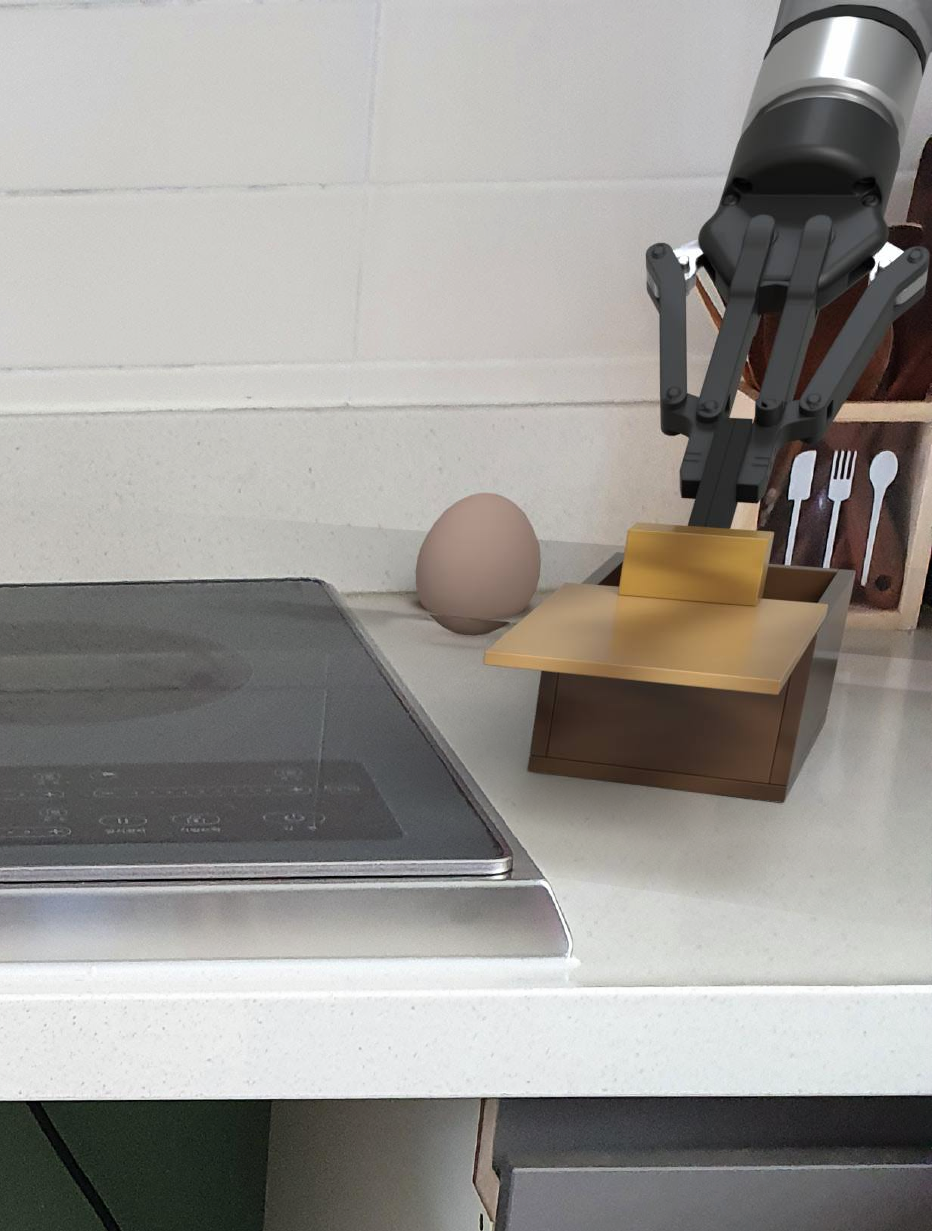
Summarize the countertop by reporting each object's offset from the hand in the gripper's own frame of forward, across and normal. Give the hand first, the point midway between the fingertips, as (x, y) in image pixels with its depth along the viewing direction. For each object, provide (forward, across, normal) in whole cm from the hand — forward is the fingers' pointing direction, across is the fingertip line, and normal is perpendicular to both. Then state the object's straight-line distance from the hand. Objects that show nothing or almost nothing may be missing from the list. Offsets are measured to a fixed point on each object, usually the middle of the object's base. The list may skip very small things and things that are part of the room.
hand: (702, 551), depth 98 cm
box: (+5, 0, -10) cm, 11 cm away
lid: (+8, 0, +5) cm, 9 cm away
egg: (-9, +16, -24) cm, 30 cm away
